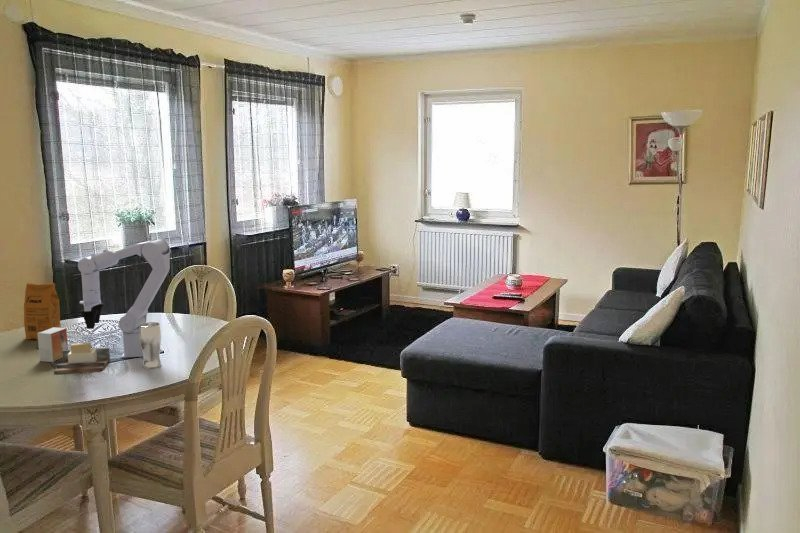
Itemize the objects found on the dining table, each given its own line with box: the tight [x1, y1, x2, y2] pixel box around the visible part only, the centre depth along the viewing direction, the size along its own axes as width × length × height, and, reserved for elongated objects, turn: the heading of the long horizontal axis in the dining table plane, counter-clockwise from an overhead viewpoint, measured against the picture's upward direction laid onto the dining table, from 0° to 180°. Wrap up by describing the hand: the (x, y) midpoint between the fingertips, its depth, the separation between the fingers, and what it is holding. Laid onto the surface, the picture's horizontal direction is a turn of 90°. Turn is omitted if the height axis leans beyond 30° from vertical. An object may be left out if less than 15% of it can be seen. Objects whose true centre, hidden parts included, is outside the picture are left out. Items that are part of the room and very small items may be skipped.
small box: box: [37, 327, 69, 363], centre depth 227 cm, size 8×6×10 cm
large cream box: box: [68, 342, 97, 363], centre depth 221 cm, size 8×5×7 cm, turn 103°
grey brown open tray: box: [53, 347, 111, 375], centre depth 220 cm, size 15×12×4 cm
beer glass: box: [139, 321, 162, 370], centre depth 220 cm, size 7×7×15 cm
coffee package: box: [23, 282, 62, 341], centre depth 252 cm, size 10×12×22 cm
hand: (93, 325), depth 233 cm, fingers open, 7 cm apart
